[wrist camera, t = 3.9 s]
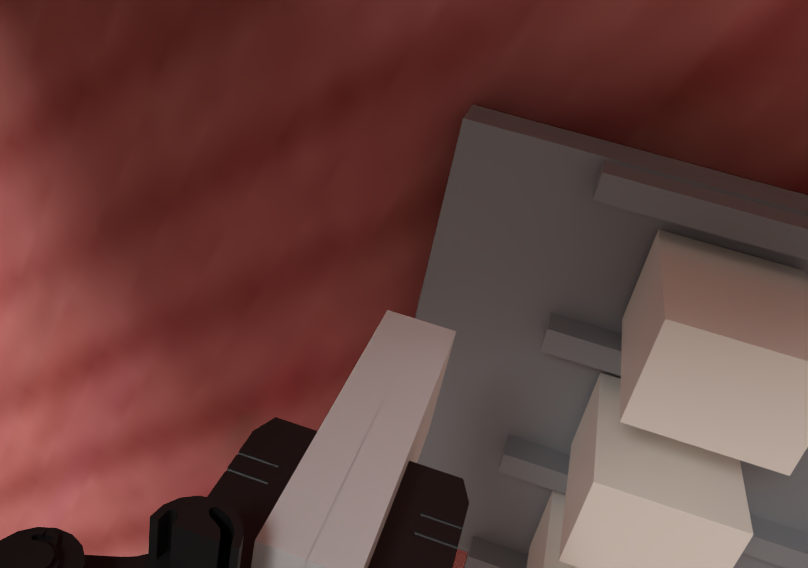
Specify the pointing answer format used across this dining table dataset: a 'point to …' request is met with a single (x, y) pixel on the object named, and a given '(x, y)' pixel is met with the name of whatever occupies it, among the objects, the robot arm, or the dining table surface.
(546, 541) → the tab
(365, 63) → the dining table surface
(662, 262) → the tab
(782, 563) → the switch board
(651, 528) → the tab
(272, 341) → the dining table surface
